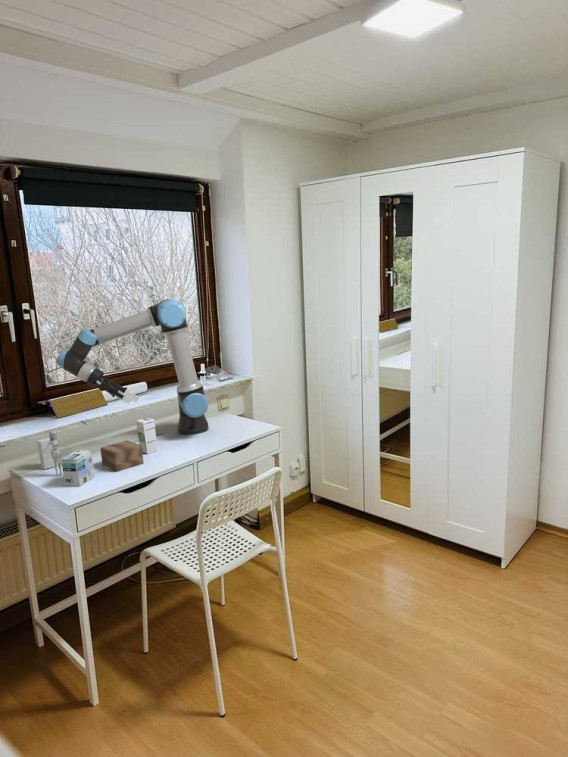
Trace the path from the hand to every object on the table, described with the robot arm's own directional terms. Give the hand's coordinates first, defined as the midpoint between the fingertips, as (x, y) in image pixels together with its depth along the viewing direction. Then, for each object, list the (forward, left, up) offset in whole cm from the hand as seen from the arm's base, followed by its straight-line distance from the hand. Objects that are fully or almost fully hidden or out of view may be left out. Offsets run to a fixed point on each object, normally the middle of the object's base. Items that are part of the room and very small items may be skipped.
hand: (134, 400), depth 244 cm
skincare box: (+34, -14, -23) cm, 43 cm away
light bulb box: (+34, +13, -23) cm, 43 cm away
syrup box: (-2, +4, -23) cm, 24 cm away
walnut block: (+14, +10, -23) cm, 29 cm away
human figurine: (+36, -1, -23) cm, 43 cm away
